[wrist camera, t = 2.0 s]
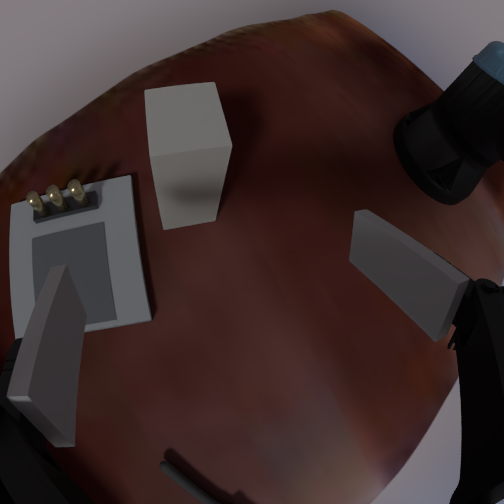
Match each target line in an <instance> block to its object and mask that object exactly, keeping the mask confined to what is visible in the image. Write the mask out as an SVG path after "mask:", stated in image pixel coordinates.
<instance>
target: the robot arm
mask: <svg viewBox="0 0 504 504" xmlns="http://www.w3.org/2000/svg"><path fill="white" fill-rule="evenodd" d="M394 143H395V147H396V150H397V153H398V156H399V158H400V160H401V162H402V164H403V166H404V167H405V169H406V171H407V172H408V174H409V175H410V176H411V178H412V179H413V180H414V181H415V183H416V184H417V185H418V186H419V187H420V188H421V189H422V190H423V191H424V192H425V193H426V194H428V195H429V196H430V197H432V198H433V199H435V200H436V201H438V202H441V203H443V204H447V205H455V204H458V203H459V202H461V201H462V200H464V199H466V198H467V197H468V196H469V195H470V194H471V193H472V192H473V190H474V189H475V187H476V186H477V184H478V183H479V181H480V180H481V178H482V177H483V175H484V174H485V172H486V171H487V169H488V168H489V167H491V166H492V165H493V164H495V163H496V162H497V161H499V160H502V161H503V162H504V43H502V42H499V41H493V42H491V43H489V44H488V45H487V46H486V47H485V48H484V49H483V50H482V51H481V52H480V53H479V54H478V55H475V56H474V57H473V61H472V62H471V63H470V64H469V66H468V67H467V68H466V69H465V70H464V71H463V72H462V73H461V74H460V75H459V76H458V77H457V78H456V80H455V81H454V82H453V83H452V84H451V85H450V86H449V87H448V88H447V89H446V90H445V91H444V92H443V93H442V95H441V96H440V97H439V98H438V99H437V100H436V101H434V102H432V103H430V104H428V105H426V106H423V107H421V108H419V109H417V110H415V111H413V112H410V113H408V114H407V115H406V116H404V118H403V119H402V120H401V121H400V122H399V123H398V124H397V126H396V128H395V131H394ZM349 261H350V262H351V263H352V264H353V265H354V266H356V267H357V268H358V269H359V270H360V271H361V272H362V273H363V274H364V275H365V276H367V277H368V278H369V279H370V280H371V281H372V282H373V283H374V284H375V285H376V286H377V287H379V288H380V289H381V290H382V291H383V292H384V293H385V294H386V295H387V296H388V297H389V298H390V299H391V300H392V301H393V302H395V303H396V304H397V305H398V306H399V307H400V308H401V309H402V310H403V311H404V312H405V313H406V314H407V315H408V316H409V317H410V318H411V319H412V320H413V321H414V322H415V323H416V324H417V325H418V326H419V327H420V328H421V329H422V330H424V331H425V332H426V333H427V334H428V335H429V336H430V337H431V338H432V339H433V340H434V341H435V342H436V341H438V340H439V339H441V338H443V337H445V336H446V335H447V333H448V331H449V329H450V327H451V325H452V324H453V325H454V326H455V327H456V329H455V331H454V334H453V336H452V338H451V340H450V342H449V344H448V348H447V349H450V348H451V346H452V344H453V343H455V346H454V348H453V350H456V355H457V363H458V372H459V384H460V398H461V424H462V425H461V426H462V441H461V442H462V443H461V468H460V480H459V484H458V486H457V488H456V489H455V491H454V493H453V495H452V497H451V499H450V503H449V504H496V503H497V502H499V501H500V500H502V499H504V286H501V287H499V286H498V285H497V284H496V283H494V282H492V281H491V280H488V279H477V280H476V282H475V281H474V280H472V279H471V278H470V277H468V276H467V275H466V274H464V273H463V272H462V271H460V270H459V269H458V268H456V267H455V266H453V265H451V263H449V262H448V261H445V259H444V258H442V257H441V256H439V255H438V254H436V253H434V252H432V251H431V250H429V249H428V248H426V247H425V246H423V245H422V244H420V243H419V242H417V241H416V240H414V239H413V238H411V237H410V236H408V235H407V234H405V233H404V232H402V231H401V230H399V229H398V228H396V227H394V226H393V225H391V224H390V223H388V222H387V221H385V220H383V219H382V218H380V217H379V216H377V215H375V214H374V213H372V212H370V211H369V210H367V209H366V210H360V211H355V214H354V223H353V232H352V241H351V249H350V256H349ZM86 319H87V315H86V312H85V310H84V308H83V305H82V303H81V301H80V298H79V296H78V293H77V291H76V288H75V286H74V283H73V280H72V278H71V275H70V272H69V270H68V267H67V264H63V265H59V266H54V267H51V269H50V271H49V273H48V275H47V277H46V280H45V282H44V284H43V287H42V289H41V291H40V294H39V296H38V299H37V301H36V304H35V306H34V309H33V311H32V314H31V317H30V319H29V322H28V325H27V328H26V331H25V334H24V336H23V338H17V339H16V340H15V341H14V343H13V344H12V346H11V347H10V348H9V351H8V354H7V357H6V362H5V363H4V366H3V371H2V373H1V376H0V504H94V503H93V502H92V501H91V500H90V499H89V498H88V497H87V496H86V495H85V493H84V492H83V491H82V490H81V489H80V488H79V487H78V486H77V485H76V484H75V482H74V481H73V480H72V479H71V478H70V477H69V475H68V474H67V473H66V472H65V471H64V469H63V468H62V467H61V466H60V464H59V463H58V462H57V461H56V459H55V458H54V457H53V456H52V454H51V453H50V452H49V451H48V450H47V449H46V439H47V440H48V441H49V442H50V443H51V444H53V445H54V446H55V447H75V421H76V402H77V389H78V378H79V368H80V360H81V352H82V344H83V337H84V331H85V325H86Z"/></svg>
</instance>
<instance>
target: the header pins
mask: <svg viewBox="0 0 504 504" xmlns="http://www.w3.org/2000/svg"><path fill="white" fill-rule="evenodd" d="M68 190H69V191H70V193H71V194H72V196H70V197H66V198H65V197H64V196H63V194H62V193H61V192H60V190H59V189H58V187H57V186H56V185H51V186H49V187H48V189H47V191H46V195H47V196H48V198H49V199H50V200H51V201H50V202H46V203H45V202H44V201H43V199H42V198H41V197H40V196H39V195H38V194H37V192H36V191H30V192H29V193H28V194H27V197H26V200H27V202H28V203H29V204H30V205H31V206H32V207H33V208H34V209H33V221H34V222H35V223H36V224H37V223H41V222H45V221H49V220H53V219H57V218H61V217H65V216H69V215H74V214H78V213H82V212H87V211H91V210H95V209H98V194H97V192H96V190H95V191H91V192H85V191H84V189H83V187H82V185H81V184H80V182H79V181H78V180H77V179H74V180H71V181H70V182H69V184H68Z"/></svg>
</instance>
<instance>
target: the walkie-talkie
mask: <svg viewBox="0 0 504 504" xmlns="http://www.w3.org/2000/svg"><path fill="white" fill-rule="evenodd" d="M159 467H160V469H161V470H162V471H164V472H165V473H166V474H167V475H168V476H169V477H170V478H172V479H173V480H174V481H175V482H176V483H178V484H179V485H180V486H181V487H182V488H184V489H185V490H186V491H187V492H189V493H190V494H191V495H192V496H194V497H195V498H196V499H198V500H199V501H200V502H202V503H203V504H222V503H220V502H217V501H216V500H214V499H213V498H211V497H210V496H209V495H208V494H206V493H205V492H204V491H202V490H201V489H200V488H198V487H197V486H196V485H195V484H193V483H192V482H191V481H190V480H189V479H187V478H186V477H185V476H184V475H182V474H181V473H180V472H179V471H178V470H177V469H175V468H174V467H173V466H172V465H171V464H170V463H169V462H167V461H162V462H161V463H160V465H159ZM231 504H232V503H231Z"/></svg>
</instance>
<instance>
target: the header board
mask: <svg viewBox="0 0 504 504" xmlns="http://www.w3.org/2000/svg"><path fill="white" fill-rule="evenodd" d="M82 187H83V189H84V191H85V192H91V191H95V190H96V192H97V194H98V209H95V210H91V211H87V212H82V213H78V214H74V215H69V216H65V217H61V218H57V219H53V220H49V221H45V222H41V223H37V224H36V223H35V222H34V221H33V209H34V208H33V207H32V206H31V205H30V204H29V203H28V202H27V200H26V201H23V202H19V203H16V204H13V205H12V206H11V220H10V251H9V257H10V289H11V303H12V313H13V323H14V330H15V338H16V339H17V338H23V336H24V334H25V331H26V328H27V325H28V322H29V319H30V317H31V314H32V311H33V309H34V306H35V304H36V301H37V299H38V296H39V294H40V291H41V289H42V287H43V284H44V282H45V280H46V277H47V275H48V273H49V271H50V269H51V267H54V266H59V265H63V264H67V267H68V270H69V272H70V275H71V278H72V280H73V283H74V286H75V288H76V291H77V293H78V296H79V298H80V301H81V303H82V305H83V308H84V310H85V312H86V315H87V319H86V325H85V331H84V332H89V331H95V330H101V329H107V328H113V327H118V326H124V325H130V324H135V323H140V322H146V321H151V320H152V316H151V311H150V306H149V301H148V295H147V290H146V284H145V279H144V273H143V266H142V260H141V254H140V247H139V240H138V232H137V224H136V216H135V207H134V197H133V187H132V179H131V175H128V176H123V177H118V178H113V179H109V180H104V181H100V182H95V183H91V184H87V185H82ZM60 192H61V193H62V194H63V196H64V197H65V198H66V197H70V196H72V194H71V193H70V191H69V190H68V189H66V190H62V191H60ZM40 197H41V198H42V199H43V201H44V202H45V203H46V202H50V201H51V200H50V199H49V198H48V196H47V195H43V196H40Z"/></svg>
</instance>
